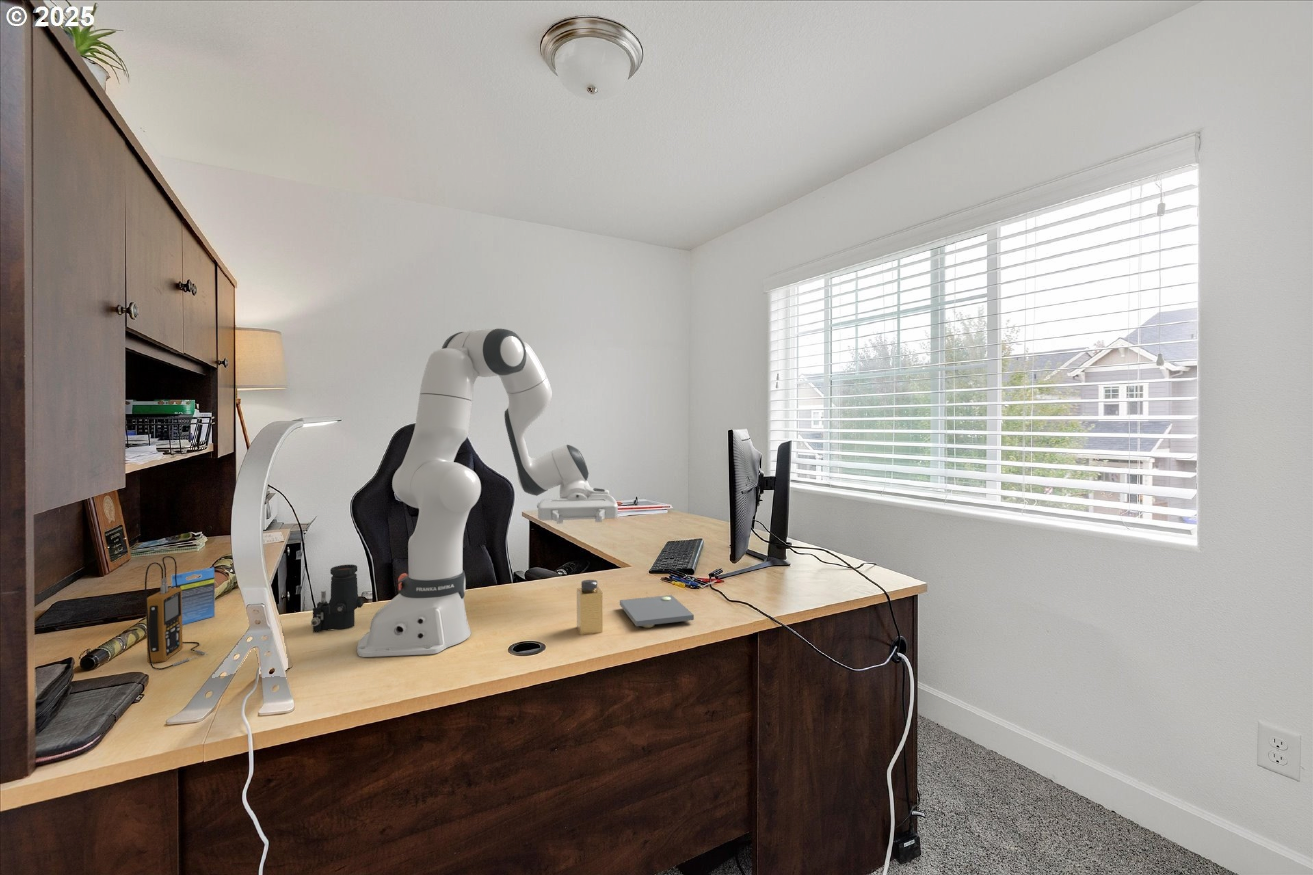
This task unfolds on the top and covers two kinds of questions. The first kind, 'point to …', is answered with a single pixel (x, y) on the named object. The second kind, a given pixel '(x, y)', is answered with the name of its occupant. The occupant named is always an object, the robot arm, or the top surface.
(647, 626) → the base
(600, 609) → the block with dome knob
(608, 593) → the top surface
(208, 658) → the top surface
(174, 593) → the multimeter
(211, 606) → the label tape box
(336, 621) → the scope
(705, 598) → the top surface
